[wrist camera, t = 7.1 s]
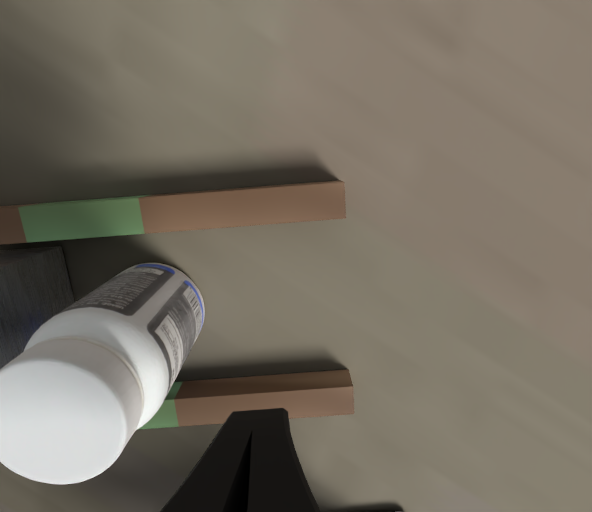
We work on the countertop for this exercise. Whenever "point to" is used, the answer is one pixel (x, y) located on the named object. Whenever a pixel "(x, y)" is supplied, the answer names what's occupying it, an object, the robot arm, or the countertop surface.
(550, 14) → the countertop surface
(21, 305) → the small grey block
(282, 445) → the robot arm
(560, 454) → the countertop surface
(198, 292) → the pill bottle
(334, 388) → the gauge rails
